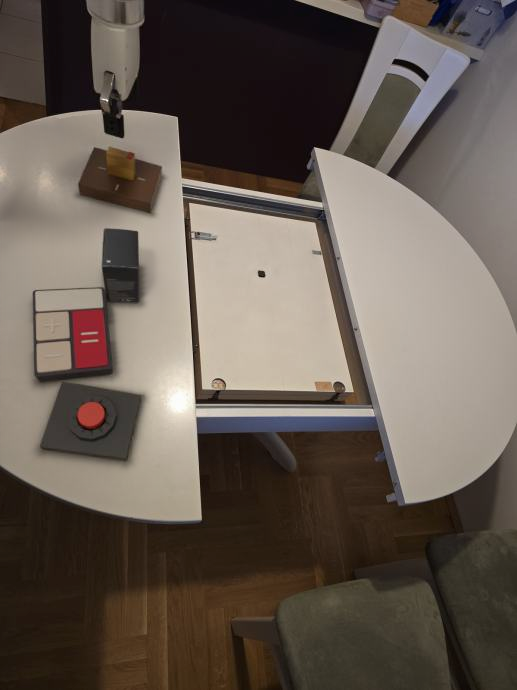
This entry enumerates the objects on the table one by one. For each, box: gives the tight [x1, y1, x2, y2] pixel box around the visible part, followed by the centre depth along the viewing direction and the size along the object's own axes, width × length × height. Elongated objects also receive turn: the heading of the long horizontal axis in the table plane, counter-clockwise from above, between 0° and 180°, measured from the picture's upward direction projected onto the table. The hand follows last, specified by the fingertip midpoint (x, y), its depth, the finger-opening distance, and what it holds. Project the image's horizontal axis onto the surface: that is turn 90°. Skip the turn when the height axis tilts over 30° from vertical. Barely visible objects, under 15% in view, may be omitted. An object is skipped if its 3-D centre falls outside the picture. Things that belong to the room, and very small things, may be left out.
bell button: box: [77, 402, 105, 429], centre depth 57 cm, size 4×4×2 cm
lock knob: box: [106, 146, 136, 181], centre depth 77 cm, size 5×2×5 cm, turn 85°
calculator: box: [32, 286, 113, 383], centre depth 64 cm, size 11×4×15 cm
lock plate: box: [77, 146, 163, 214], centre depth 81 cm, size 14×11×3 cm
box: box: [101, 227, 140, 304], centre depth 67 cm, size 8×6×11 cm
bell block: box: [39, 381, 142, 462], centre depth 59 cm, size 12×10×4 cm
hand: (122, 117), depth 68 cm, fingers open, 9 cm apart
